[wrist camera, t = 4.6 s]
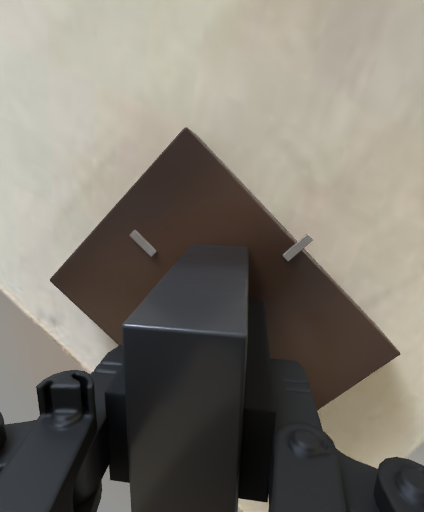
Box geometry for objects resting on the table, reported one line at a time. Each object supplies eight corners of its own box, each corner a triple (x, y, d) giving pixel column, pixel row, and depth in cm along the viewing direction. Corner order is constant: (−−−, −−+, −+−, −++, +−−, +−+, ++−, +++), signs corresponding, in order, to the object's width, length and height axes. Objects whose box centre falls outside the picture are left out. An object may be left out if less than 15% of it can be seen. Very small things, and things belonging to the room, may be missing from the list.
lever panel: (69, 273, 18) (39, 289, 15) (204, 124, 15) (194, 113, 12) (236, 430, 19) (234, 469, 17) (389, 321, 16) (414, 348, 14)
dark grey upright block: (191, 243, 14) (114, 330, 6) (249, 246, 14) (248, 341, 6) (190, 377, 16) (129, 581, 8) (241, 382, 15) (232, 599, 8)
